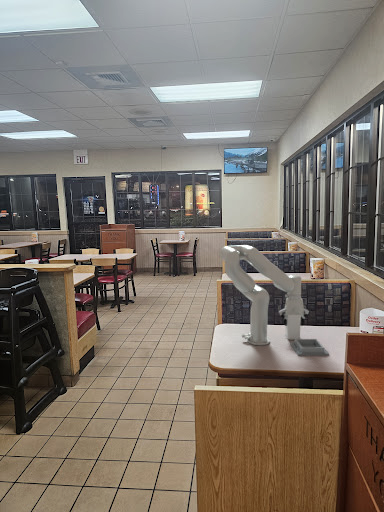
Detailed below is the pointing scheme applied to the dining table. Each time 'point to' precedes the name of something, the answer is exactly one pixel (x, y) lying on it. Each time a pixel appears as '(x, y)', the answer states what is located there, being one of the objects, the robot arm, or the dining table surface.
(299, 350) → the carton tray
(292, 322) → the milk carton
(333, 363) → the dining table surface
